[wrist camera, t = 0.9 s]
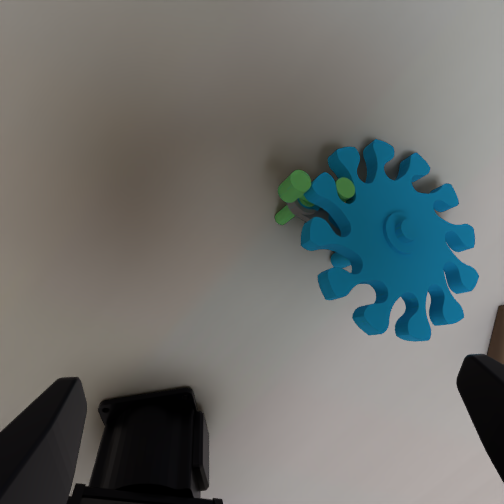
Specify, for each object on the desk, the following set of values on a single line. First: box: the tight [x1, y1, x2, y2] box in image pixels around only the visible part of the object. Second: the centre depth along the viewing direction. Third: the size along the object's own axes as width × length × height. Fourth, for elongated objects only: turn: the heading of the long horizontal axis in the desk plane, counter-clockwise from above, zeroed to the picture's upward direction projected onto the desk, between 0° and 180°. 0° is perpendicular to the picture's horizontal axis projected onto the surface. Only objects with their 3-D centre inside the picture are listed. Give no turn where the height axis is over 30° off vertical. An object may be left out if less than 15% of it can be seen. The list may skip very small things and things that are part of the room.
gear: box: [275, 139, 479, 341], centre depth 20 cm, size 11×6×10 cm
